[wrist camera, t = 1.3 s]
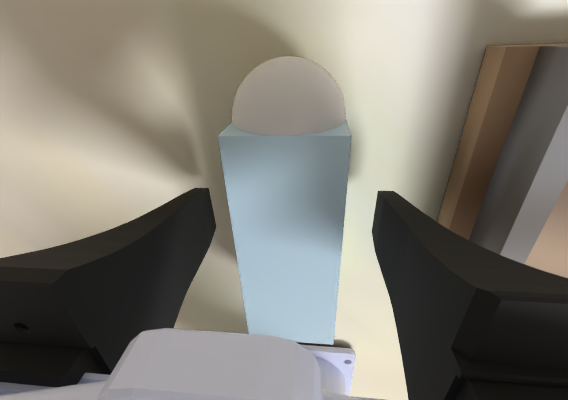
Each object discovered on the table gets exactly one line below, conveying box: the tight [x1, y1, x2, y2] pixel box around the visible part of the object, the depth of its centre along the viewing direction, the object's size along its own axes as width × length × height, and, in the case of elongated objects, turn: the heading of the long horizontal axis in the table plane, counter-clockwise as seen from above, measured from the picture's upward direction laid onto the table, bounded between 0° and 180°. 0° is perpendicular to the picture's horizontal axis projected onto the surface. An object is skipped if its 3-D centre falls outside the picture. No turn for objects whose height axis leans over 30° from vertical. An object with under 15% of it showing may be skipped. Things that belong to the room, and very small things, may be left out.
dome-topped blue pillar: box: [218, 56, 351, 345], centre depth 12 cm, size 12×4×4 cm, turn 2°
